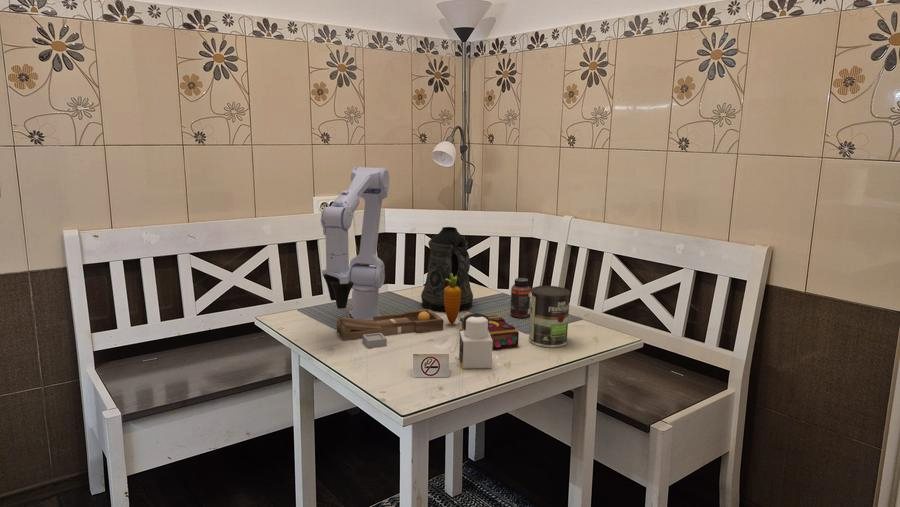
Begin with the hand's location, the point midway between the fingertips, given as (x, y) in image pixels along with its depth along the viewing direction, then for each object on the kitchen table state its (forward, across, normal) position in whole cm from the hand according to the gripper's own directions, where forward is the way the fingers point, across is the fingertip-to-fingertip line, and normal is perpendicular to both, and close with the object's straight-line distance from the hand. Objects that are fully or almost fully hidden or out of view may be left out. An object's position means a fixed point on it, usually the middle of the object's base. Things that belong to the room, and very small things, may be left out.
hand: (338, 303), depth 159 cm
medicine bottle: (+10, +27, +27) cm, 39 cm away
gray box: (+10, +6, +8) cm, 14 cm away
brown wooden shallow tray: (+10, -3, +15) cm, 18 cm away
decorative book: (+10, +14, +38) cm, 41 cm away
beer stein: (+10, -18, +40) cm, 45 cm away
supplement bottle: (+10, -2, +56) cm, 57 cm away
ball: (+8, -4, +26) cm, 27 cm away
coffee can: (+10, +20, +52) cm, 57 cm away
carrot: (+10, -1, +33) cm, 35 cm away
